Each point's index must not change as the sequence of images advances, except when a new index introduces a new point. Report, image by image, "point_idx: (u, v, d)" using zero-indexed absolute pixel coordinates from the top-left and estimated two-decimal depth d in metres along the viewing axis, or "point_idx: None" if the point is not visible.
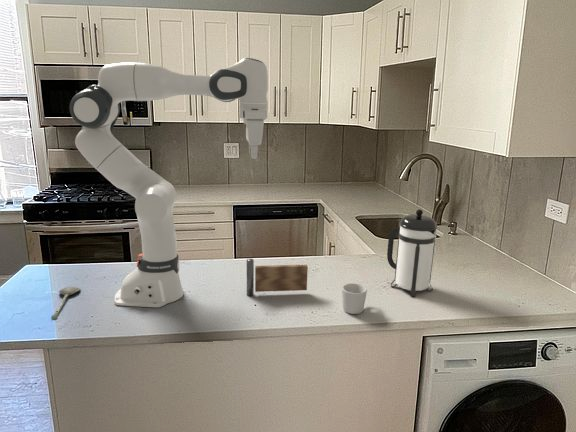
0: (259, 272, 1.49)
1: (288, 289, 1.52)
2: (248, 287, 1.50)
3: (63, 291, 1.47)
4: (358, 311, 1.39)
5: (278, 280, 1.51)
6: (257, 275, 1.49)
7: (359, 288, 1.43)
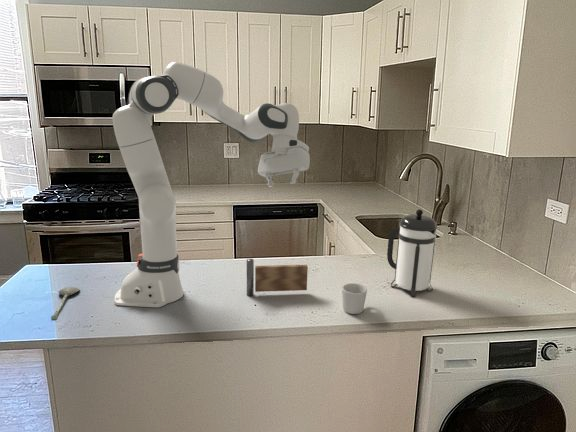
0: (259, 272, 1.49)
1: (288, 289, 1.52)
2: (248, 287, 1.50)
3: (62, 291, 1.47)
4: (358, 311, 1.39)
5: (278, 280, 1.51)
6: (257, 275, 1.49)
7: (359, 288, 1.43)
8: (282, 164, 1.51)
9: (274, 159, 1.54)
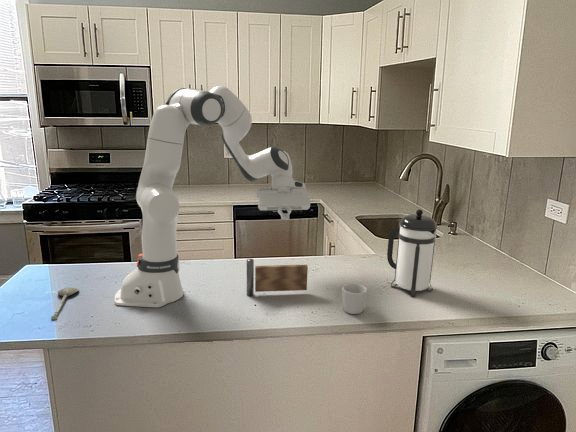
0: (259, 272, 1.49)
1: (288, 289, 1.52)
2: (248, 287, 1.50)
3: (62, 292, 1.46)
4: (358, 311, 1.39)
5: (278, 280, 1.51)
6: (257, 275, 1.49)
7: (359, 288, 1.43)
8: (287, 200, 1.68)
9: (276, 195, 1.69)
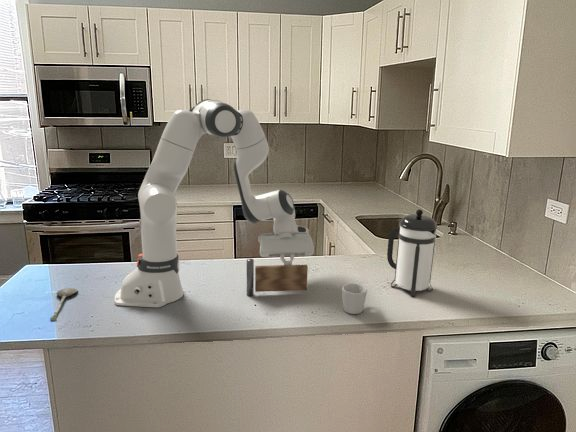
0: (259, 272, 1.49)
1: (288, 289, 1.52)
2: (248, 287, 1.50)
3: (61, 292, 1.46)
4: (358, 311, 1.39)
5: (278, 280, 1.51)
6: (257, 275, 1.49)
7: (359, 288, 1.43)
8: (290, 247, 1.61)
9: (278, 241, 1.62)
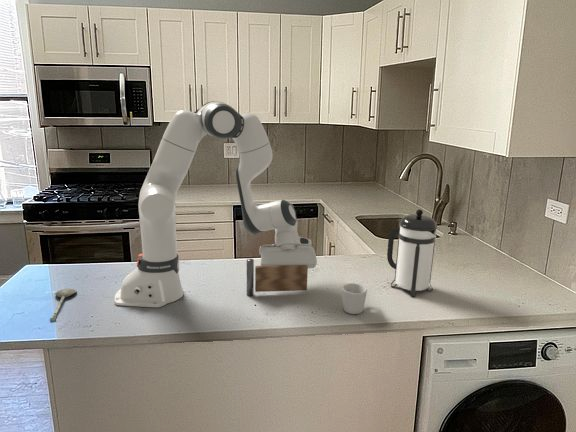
0: (259, 272, 1.49)
1: (288, 289, 1.52)
2: (248, 287, 1.50)
3: (59, 293, 1.45)
4: (358, 311, 1.39)
5: (278, 280, 1.51)
6: (257, 275, 1.49)
7: (359, 288, 1.43)
8: (292, 259, 1.55)
9: (280, 253, 1.56)
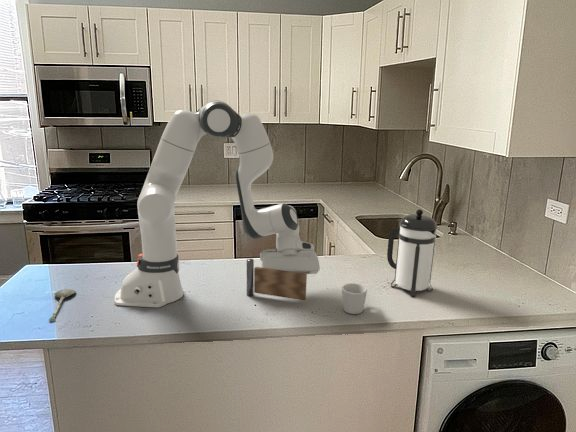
0: (258, 274, 1.48)
1: (286, 296, 1.47)
2: (248, 287, 1.50)
3: (59, 293, 1.45)
4: (358, 311, 1.39)
5: (276, 285, 1.47)
6: (256, 276, 1.48)
7: (359, 288, 1.43)
8: (294, 264, 1.50)
9: (282, 259, 1.51)
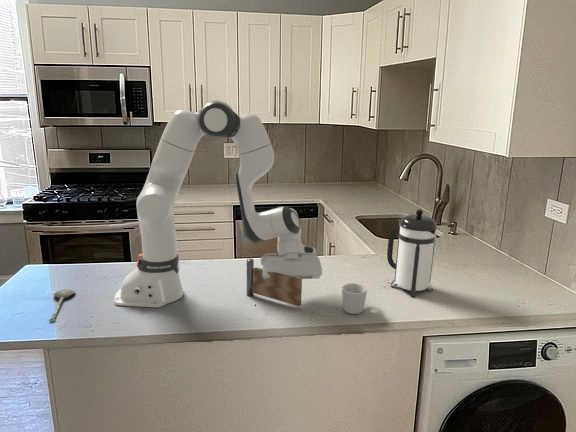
0: (256, 274, 1.47)
1: (281, 299, 1.44)
2: (248, 287, 1.50)
3: (58, 294, 1.45)
4: (358, 311, 1.39)
5: (272, 287, 1.45)
6: (254, 277, 1.48)
7: (359, 288, 1.43)
8: (296, 269, 1.46)
9: (283, 263, 1.47)
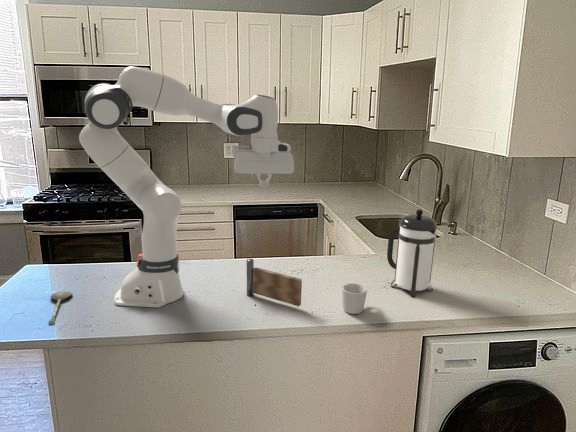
0: (256, 274, 1.47)
1: (281, 299, 1.44)
2: (248, 287, 1.50)
3: (55, 296, 1.43)
4: (358, 311, 1.39)
5: (272, 287, 1.45)
6: (254, 277, 1.48)
7: (359, 288, 1.43)
8: (268, 166, 1.46)
9: (255, 159, 1.45)
